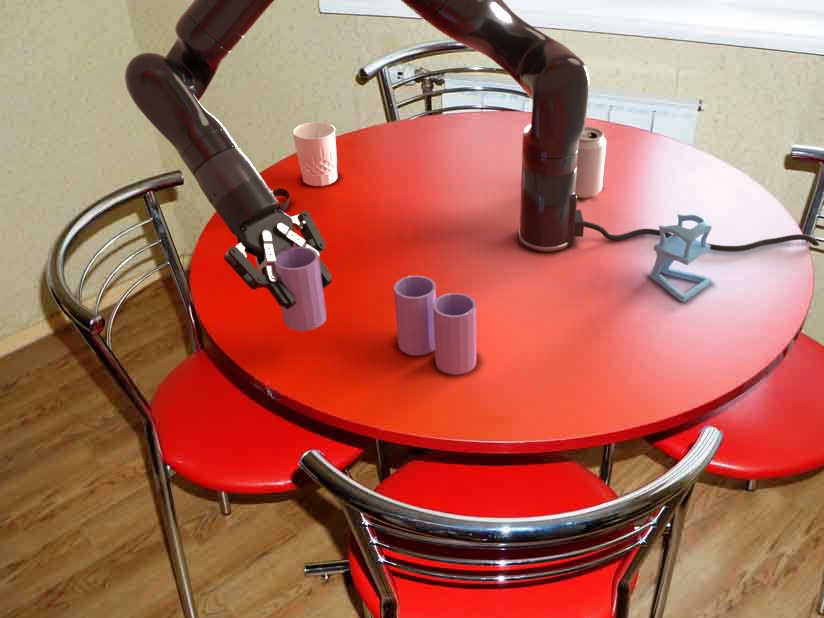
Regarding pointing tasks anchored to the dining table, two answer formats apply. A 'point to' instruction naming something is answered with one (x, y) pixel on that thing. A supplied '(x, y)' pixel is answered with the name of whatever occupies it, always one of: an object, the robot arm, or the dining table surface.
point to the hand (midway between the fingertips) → (309, 295)
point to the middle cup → (415, 314)
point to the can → (590, 163)
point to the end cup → (302, 288)
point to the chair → (681, 253)
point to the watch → (282, 193)
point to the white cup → (316, 152)
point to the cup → (455, 333)
